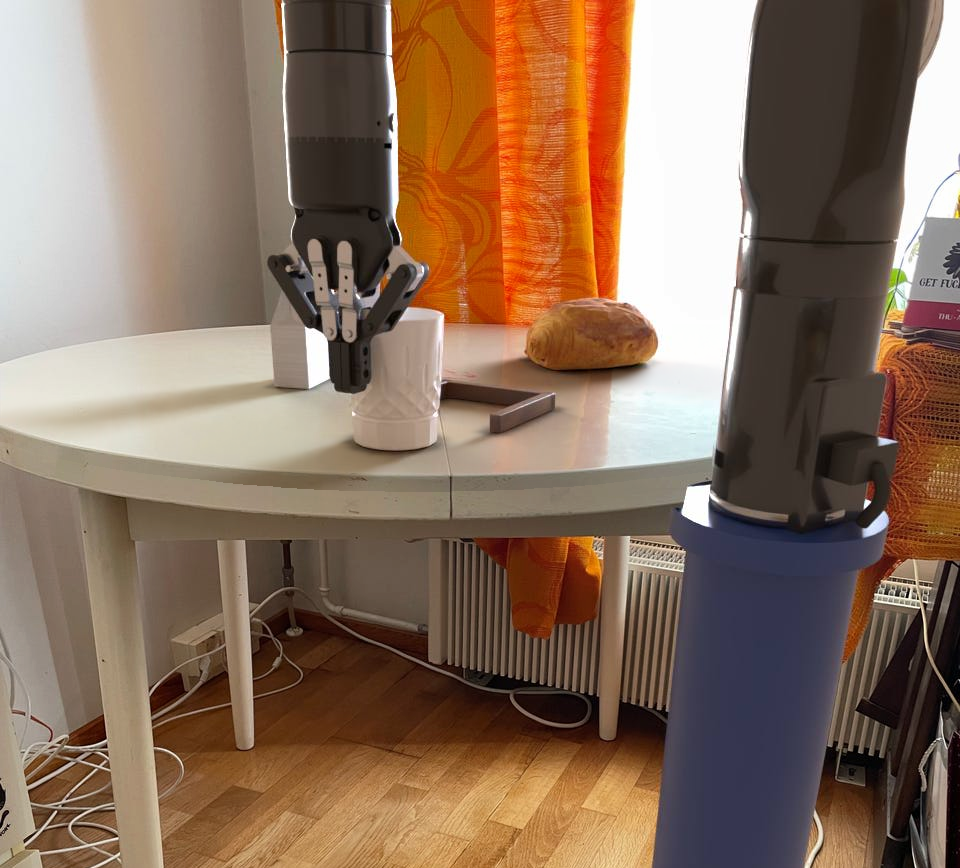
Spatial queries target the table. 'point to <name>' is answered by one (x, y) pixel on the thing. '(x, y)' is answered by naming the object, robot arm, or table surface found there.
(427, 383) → the white cup
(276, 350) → the white milk carton
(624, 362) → the bread loaf
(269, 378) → the table surface
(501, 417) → the bay
